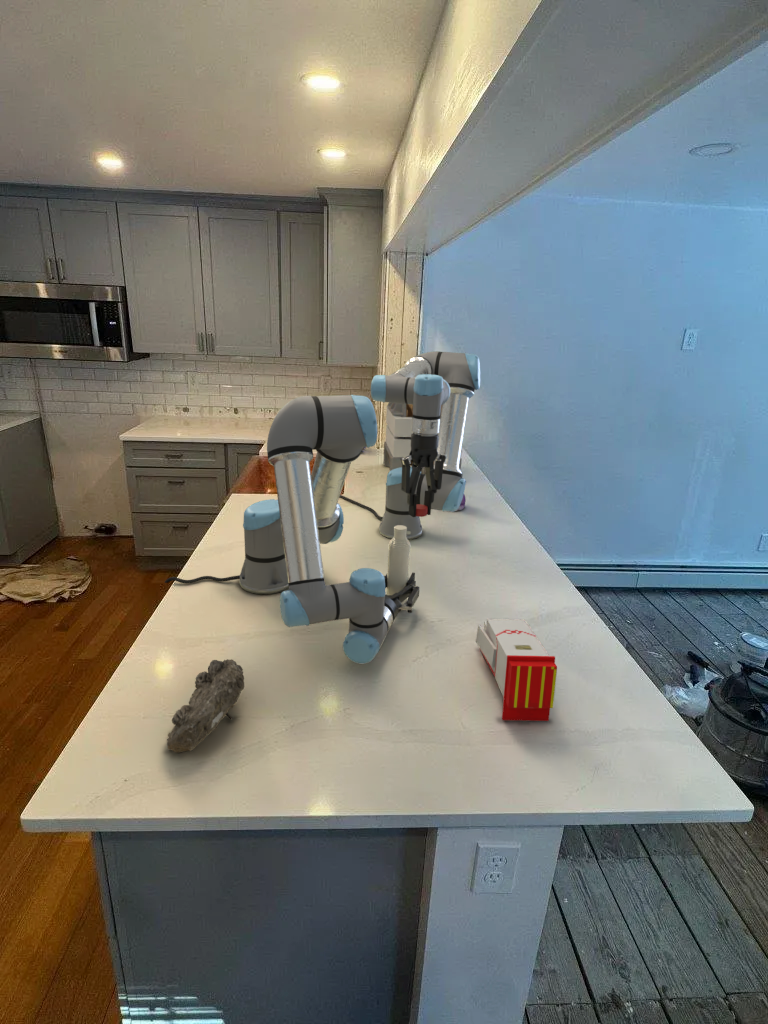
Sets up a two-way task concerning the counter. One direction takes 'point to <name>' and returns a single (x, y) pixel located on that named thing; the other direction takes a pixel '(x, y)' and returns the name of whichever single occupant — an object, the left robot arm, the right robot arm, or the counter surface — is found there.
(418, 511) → the cap
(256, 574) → the left robot arm
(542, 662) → the toy
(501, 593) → the counter surface
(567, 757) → the counter surface
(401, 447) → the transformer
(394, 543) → the bottle
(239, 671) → the fossil
